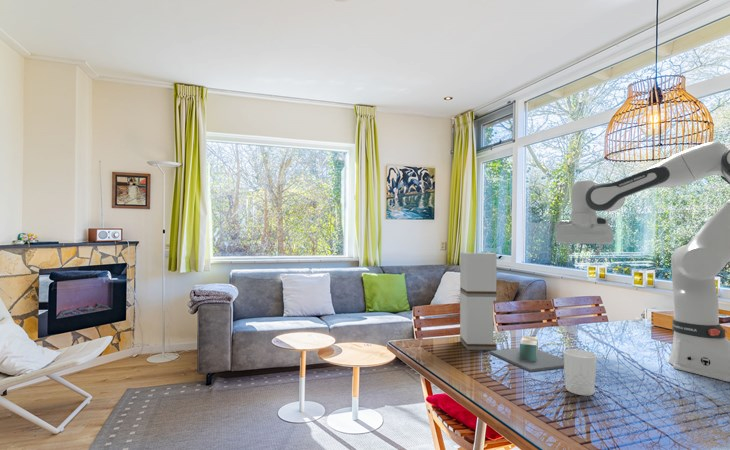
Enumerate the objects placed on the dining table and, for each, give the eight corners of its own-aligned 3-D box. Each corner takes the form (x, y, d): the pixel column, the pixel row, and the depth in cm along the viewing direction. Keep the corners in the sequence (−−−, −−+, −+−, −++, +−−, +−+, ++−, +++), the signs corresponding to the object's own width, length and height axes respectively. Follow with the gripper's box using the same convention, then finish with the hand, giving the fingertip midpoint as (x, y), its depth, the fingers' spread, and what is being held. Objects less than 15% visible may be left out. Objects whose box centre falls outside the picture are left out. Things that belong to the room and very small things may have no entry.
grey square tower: (496, 350, 143) (496, 253, 144) (467, 349, 144) (467, 253, 145) (487, 341, 155) (487, 252, 156) (460, 341, 155) (460, 252, 156)
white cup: (567, 383, 111) (566, 347, 112) (599, 390, 106) (599, 352, 106) (560, 391, 105) (559, 353, 105) (593, 399, 100) (593, 359, 100)
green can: (537, 337, 139) (536, 345, 128) (537, 351, 139) (536, 361, 128) (522, 335, 141) (519, 343, 130) (522, 349, 141) (519, 359, 130)
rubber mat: (576, 366, 126) (576, 363, 126) (530, 371, 120) (530, 369, 120) (531, 349, 145) (531, 346, 145) (489, 353, 139) (489, 351, 139)
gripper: (554, 220, 160) (554, 254, 160) (614, 219, 151) (614, 256, 151) (554, 220, 166) (555, 253, 166) (612, 220, 157) (612, 255, 157)
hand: (583, 254), depth 158 cm, fingers open, 8 cm apart
